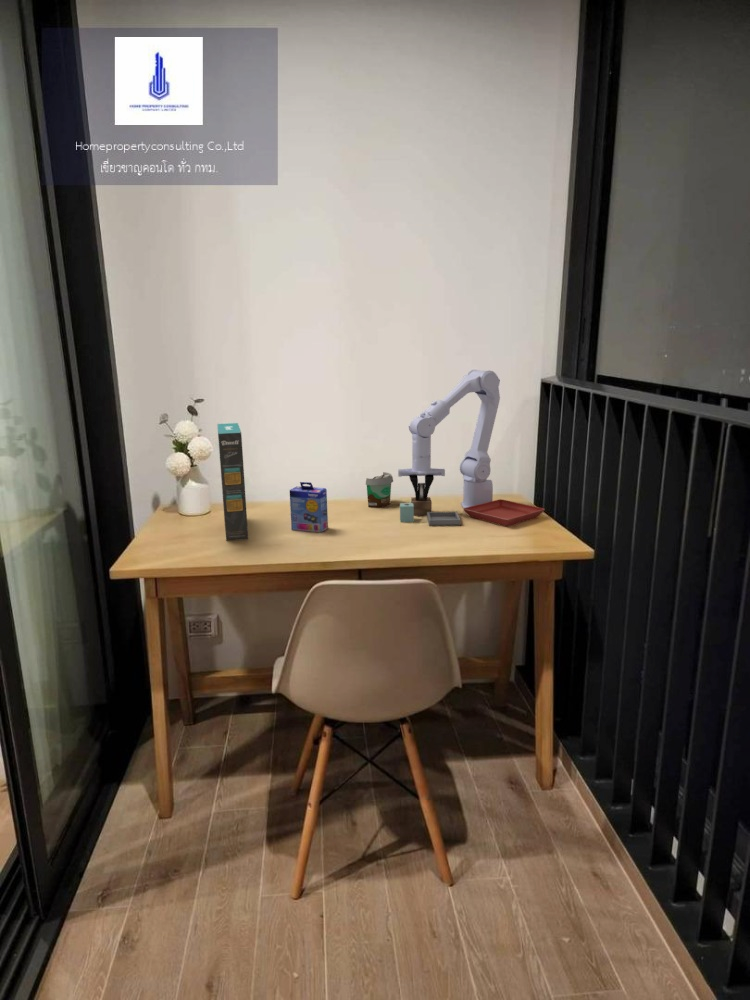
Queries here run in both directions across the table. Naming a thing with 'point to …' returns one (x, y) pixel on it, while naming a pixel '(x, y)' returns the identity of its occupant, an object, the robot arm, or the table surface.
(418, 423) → the robot arm
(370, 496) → the food container
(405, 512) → the teal block
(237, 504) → the cake mix box
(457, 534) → the table surface
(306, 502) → the ink cartridge box
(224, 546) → the table surface
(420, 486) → the steel pin
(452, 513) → the tray
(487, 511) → the plant saucer
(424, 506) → the walnut block
